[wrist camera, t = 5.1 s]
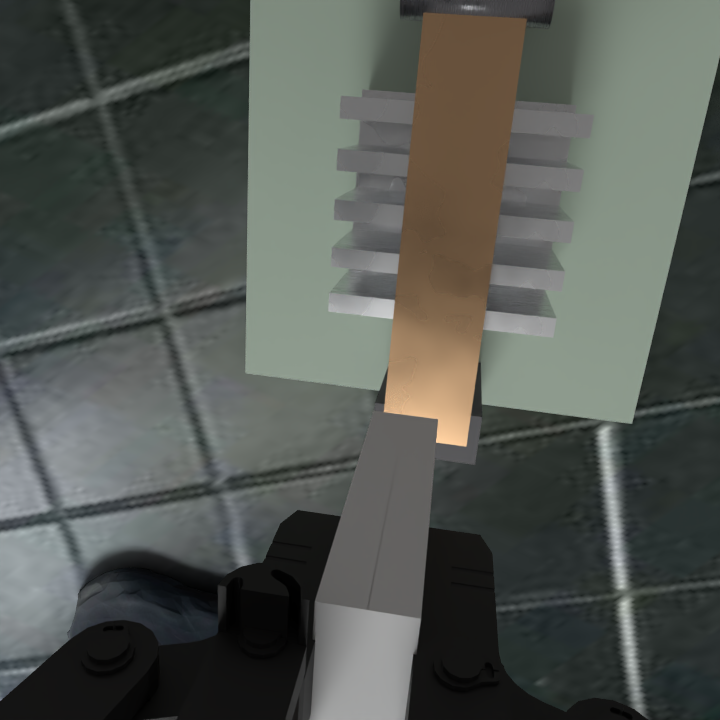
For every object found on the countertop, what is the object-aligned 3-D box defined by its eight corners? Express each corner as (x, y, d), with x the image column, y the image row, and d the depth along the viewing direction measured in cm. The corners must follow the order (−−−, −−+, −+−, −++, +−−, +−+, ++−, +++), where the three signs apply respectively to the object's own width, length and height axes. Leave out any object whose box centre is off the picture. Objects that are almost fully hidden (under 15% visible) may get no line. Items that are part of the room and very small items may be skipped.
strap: (366, 421, 25) (361, 434, 24) (406, -20, 20) (403, -31, 19) (485, 438, 24) (486, 452, 23) (553, -13, 20) (558, -23, 19)
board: (252, 364, 33) (167, 459, 24) (260, -50, 27) (148, -138, 18) (626, 412, 31) (690, 538, 22) (729, -28, 25) (881, -115, 16)
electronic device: (331, 574, 39) (74, 548, 39) (323, 656, 34) (29, 627, 34) (319, 677, 44) (88, 654, 43) (311, 763, 39) (51, 738, 38)
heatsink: (354, 283, 30) (327, 320, 24) (368, 90, 27) (341, 84, 22) (536, 303, 29) (551, 347, 23) (570, 105, 26) (596, 102, 21)
